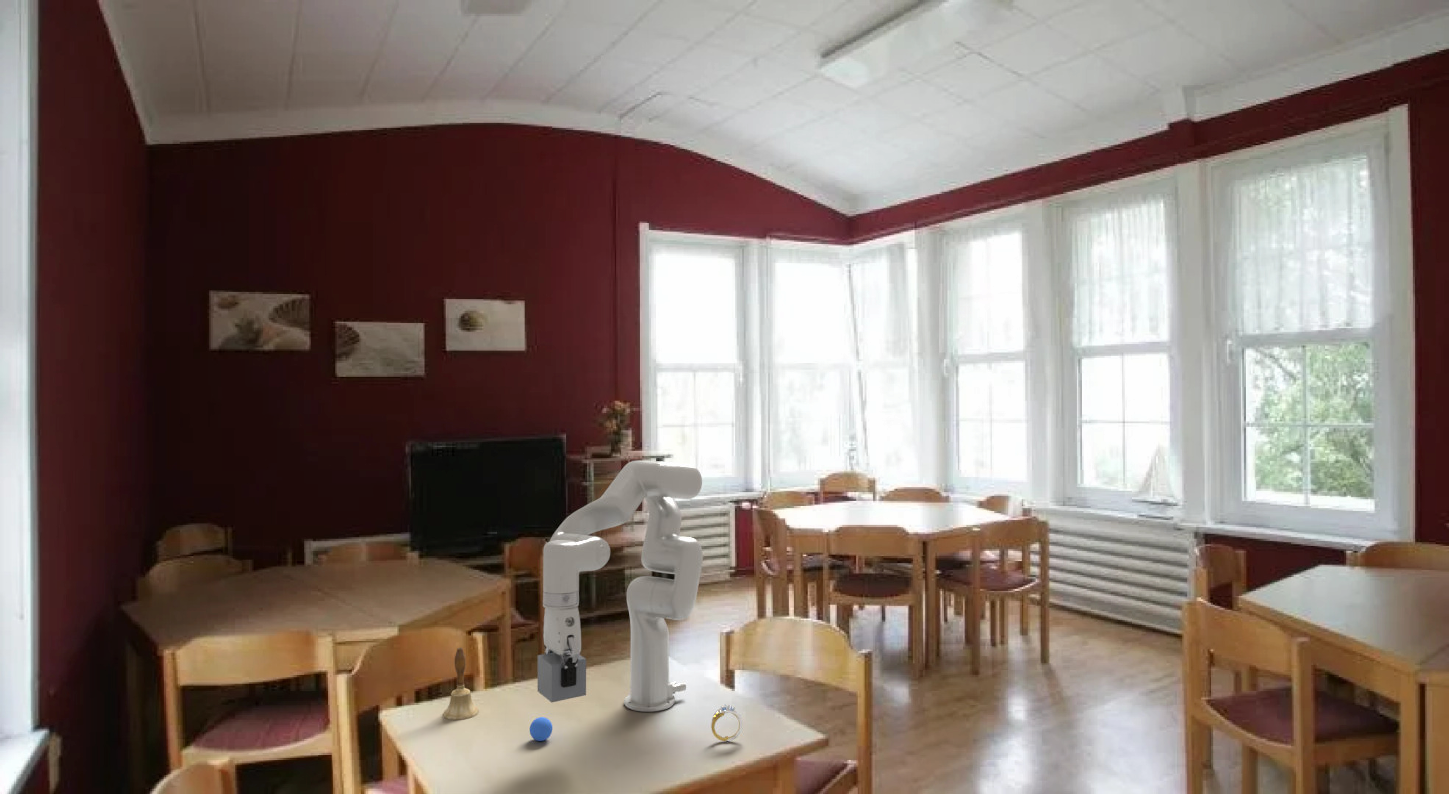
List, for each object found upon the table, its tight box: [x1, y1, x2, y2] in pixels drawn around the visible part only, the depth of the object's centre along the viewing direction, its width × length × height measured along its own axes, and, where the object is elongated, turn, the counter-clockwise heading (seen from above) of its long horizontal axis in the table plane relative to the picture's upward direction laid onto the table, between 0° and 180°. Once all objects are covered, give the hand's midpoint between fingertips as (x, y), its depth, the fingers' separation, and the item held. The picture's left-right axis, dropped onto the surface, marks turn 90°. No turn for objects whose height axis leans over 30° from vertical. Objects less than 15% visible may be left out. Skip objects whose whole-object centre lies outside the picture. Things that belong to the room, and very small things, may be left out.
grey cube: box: [537, 650, 587, 703], centre depth 184 cm, size 8×8×8 cm
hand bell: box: [442, 647, 479, 721], centre depth 208 cm, size 8×8×16 cm
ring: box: [710, 704, 743, 742], centre depth 191 cm, size 7×3×8 cm, turn 92°
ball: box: [529, 716, 553, 742], centre depth 192 cm, size 5×5×5 cm
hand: (560, 680), depth 184 cm, fingers closed on grey cube, 8 cm apart
